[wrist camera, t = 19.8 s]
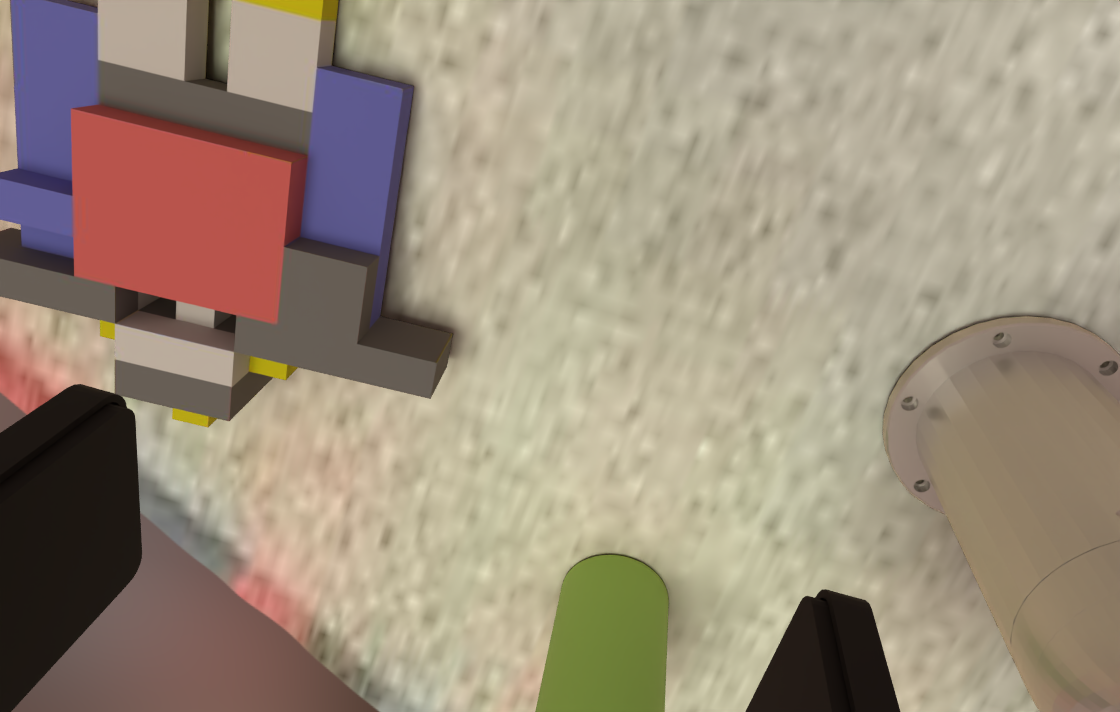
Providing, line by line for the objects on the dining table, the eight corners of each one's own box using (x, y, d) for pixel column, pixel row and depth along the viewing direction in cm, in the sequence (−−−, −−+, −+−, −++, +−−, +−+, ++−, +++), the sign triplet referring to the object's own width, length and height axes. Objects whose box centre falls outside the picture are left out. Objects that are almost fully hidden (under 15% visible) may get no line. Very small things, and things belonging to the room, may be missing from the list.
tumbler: (657, 545, 51) (641, 795, 35) (682, 631, 53) (677, 897, 38) (549, 559, 53) (488, 802, 37) (579, 642, 55) (534, 899, 40)
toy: (513, -102, 31) (402, 519, 42) (535, -75, 38) (436, 442, 50) (-138, -268, 30) (-67, 409, 42) (20, -205, 38) (42, 348, 50)
